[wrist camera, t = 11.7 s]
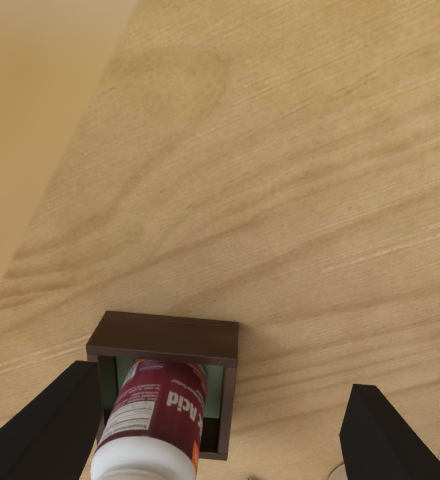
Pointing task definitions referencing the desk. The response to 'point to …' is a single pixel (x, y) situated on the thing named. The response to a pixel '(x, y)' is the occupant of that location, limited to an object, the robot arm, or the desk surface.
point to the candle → (339, 473)
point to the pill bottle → (154, 424)
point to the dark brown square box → (173, 350)
